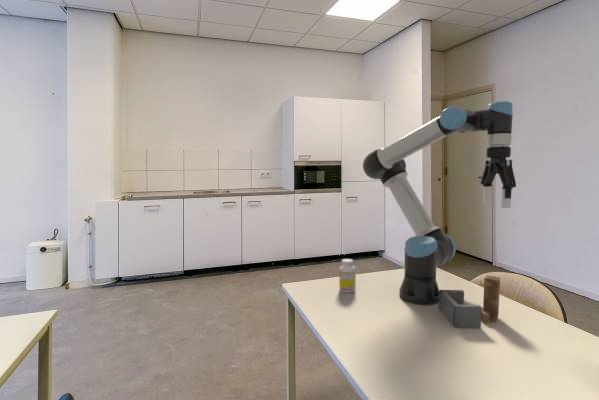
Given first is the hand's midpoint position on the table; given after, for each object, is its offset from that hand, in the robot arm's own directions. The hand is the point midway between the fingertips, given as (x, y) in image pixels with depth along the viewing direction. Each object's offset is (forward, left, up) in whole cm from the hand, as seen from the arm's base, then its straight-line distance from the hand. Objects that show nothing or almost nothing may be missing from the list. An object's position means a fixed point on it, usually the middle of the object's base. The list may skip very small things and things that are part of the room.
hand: (496, 205), depth 125 cm
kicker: (+13, -9, -37) cm, 40 cm away
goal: (+13, -17, -37) cm, 42 cm away
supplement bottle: (-12, -52, -37) cm, 65 cm away
